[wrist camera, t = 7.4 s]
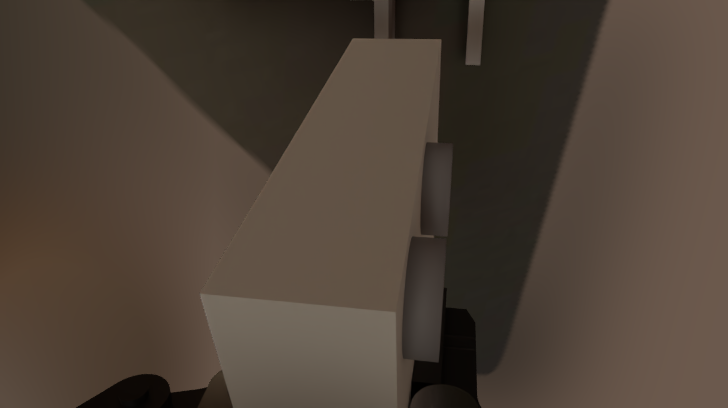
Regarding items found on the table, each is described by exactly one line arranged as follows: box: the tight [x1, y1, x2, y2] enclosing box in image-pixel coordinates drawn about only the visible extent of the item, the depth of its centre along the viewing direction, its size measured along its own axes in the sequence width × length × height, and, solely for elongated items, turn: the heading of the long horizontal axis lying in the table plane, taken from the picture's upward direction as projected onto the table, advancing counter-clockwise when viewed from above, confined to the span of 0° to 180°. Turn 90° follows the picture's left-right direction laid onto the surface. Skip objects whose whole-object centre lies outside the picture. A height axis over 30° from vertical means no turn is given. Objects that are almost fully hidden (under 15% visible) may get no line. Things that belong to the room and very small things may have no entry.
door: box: [200, 38, 453, 408], centre depth 14 cm, size 12×4×10 cm, turn 1°
